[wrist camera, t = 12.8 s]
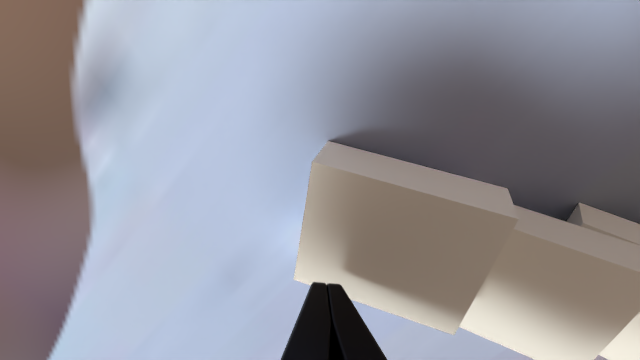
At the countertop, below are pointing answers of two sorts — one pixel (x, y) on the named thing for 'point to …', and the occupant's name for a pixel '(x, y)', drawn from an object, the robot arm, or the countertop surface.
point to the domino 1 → (401, 234)
